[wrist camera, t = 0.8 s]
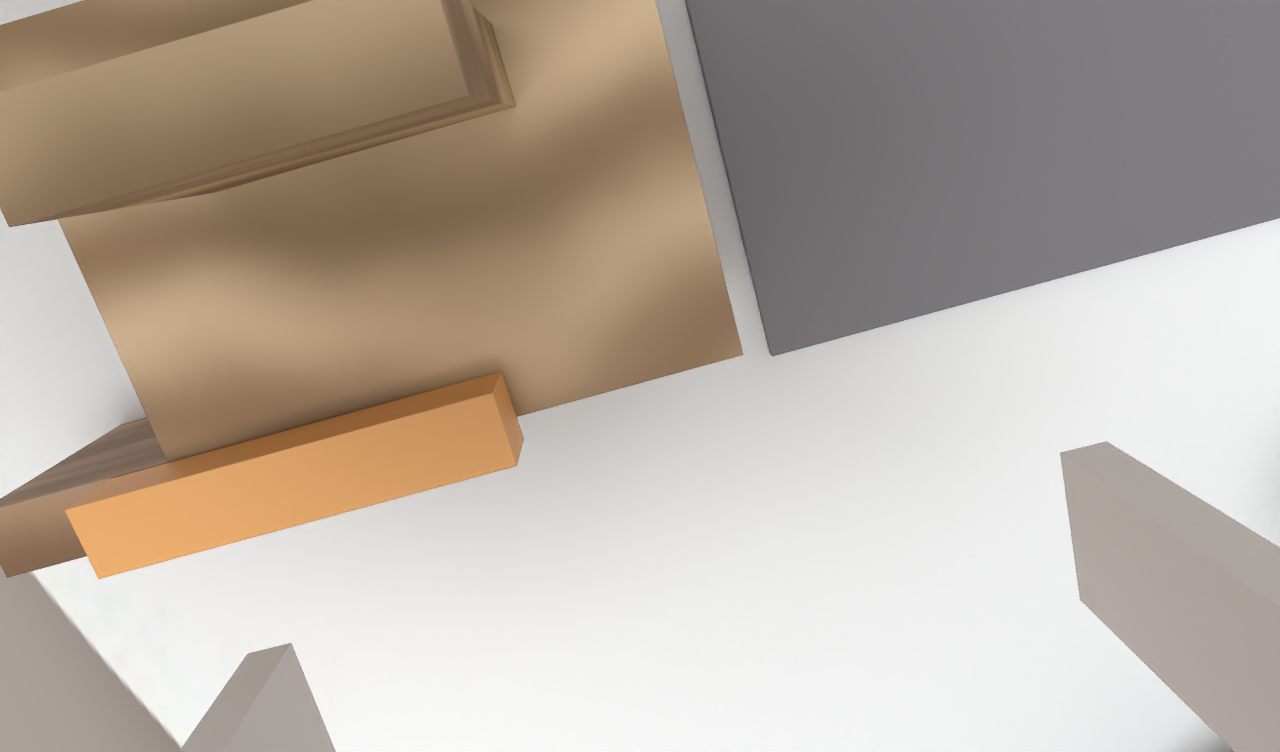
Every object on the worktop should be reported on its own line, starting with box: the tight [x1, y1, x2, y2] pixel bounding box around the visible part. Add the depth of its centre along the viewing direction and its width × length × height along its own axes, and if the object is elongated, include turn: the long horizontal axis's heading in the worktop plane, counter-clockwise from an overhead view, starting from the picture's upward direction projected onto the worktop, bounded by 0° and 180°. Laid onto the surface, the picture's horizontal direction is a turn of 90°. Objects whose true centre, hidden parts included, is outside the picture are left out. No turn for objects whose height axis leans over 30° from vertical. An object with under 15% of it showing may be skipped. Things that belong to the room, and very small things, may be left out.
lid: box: [0, 0, 743, 463], centre depth 25 cm, size 16×20×12 cm
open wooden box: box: [0, 418, 168, 577], centre depth 33 cm, size 16×26×10 cm, turn 105°
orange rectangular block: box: [65, 372, 524, 579], centre depth 29 cm, size 2×14×2 cm, turn 105°
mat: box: [685, 0, 1280, 356], centre depth 36 cm, size 22×24×1 cm
